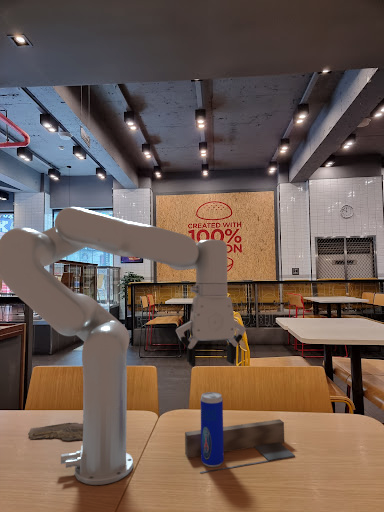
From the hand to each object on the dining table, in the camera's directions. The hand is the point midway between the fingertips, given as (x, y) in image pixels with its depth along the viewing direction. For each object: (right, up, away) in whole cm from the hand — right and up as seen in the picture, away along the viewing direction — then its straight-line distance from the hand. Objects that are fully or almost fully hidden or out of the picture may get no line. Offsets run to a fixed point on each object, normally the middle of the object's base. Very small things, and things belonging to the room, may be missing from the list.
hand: (211, 363), depth 79 cm
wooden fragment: (-38, -24, +14) cm, 47 cm away
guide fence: (+8, -22, 0) cm, 23 cm away
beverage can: (0, -22, -2) cm, 22 cm away
